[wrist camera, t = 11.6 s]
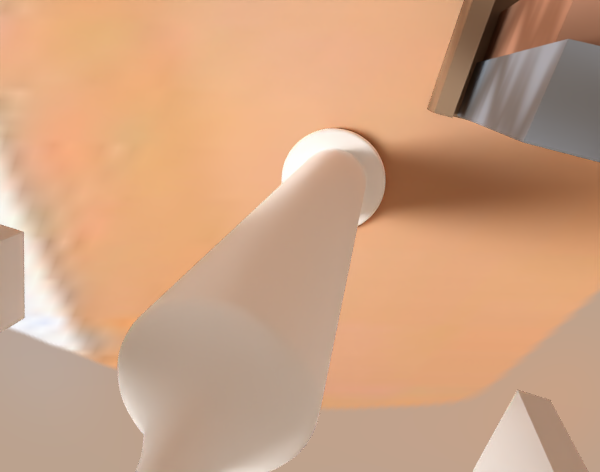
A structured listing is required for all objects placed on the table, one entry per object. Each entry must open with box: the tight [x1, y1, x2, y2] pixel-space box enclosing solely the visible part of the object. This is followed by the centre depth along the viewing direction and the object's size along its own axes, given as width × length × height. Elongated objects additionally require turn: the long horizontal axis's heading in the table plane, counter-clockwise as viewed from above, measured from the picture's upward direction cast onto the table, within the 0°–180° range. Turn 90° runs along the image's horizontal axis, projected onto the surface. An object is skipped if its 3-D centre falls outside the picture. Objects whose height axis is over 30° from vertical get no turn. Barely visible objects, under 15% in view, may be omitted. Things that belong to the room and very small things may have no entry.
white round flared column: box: [118, 128, 386, 472], centre depth 17 cm, size 7×7×25 cm
